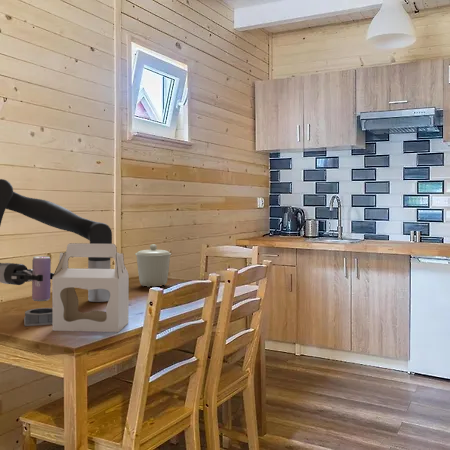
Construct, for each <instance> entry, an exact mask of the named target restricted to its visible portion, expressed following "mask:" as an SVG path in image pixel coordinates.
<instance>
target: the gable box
mask: <svg viewBox="0 0 450 450" xmlns="http://www.w3.org/2000/svg"><path fill="white" fill-rule="evenodd" d="M88 257H110V259H114V268H110V269H88V268H73V267H71V268H69V260H70V258H88ZM58 260H59V261H58V262H59V263H58V265H57V266H56V269H55V271H54V272H53V273H54V275H53V277H52V279H51V280H52V281H51V282H52V283H51V285H52V286H51V287H52V289H51V291H52V293H51V296H52V298H51V299H52V301H51V302H52V307H51V308H52V324H51V325H52V331H53V332H55V331H56V332H84V333H85V332H89V333H90V332H91V333H92V332H95V333H97V332H99V333H119V332H121V330H123V329H124V328H125V327H126V326H127V325H128V324H129V272H128V270H127V268H126V265H125V258H124V253H119V252H118V251H117V245H116V244H115V243H112V244H90V242H89V243H83V242H81V243H80V242H79V243H78V242H77V243H76V242H75V243H74V242H73V243H72V242H71V243H68V244H67V246H66V250H65V251H64V252H60V253H59V259H58ZM76 288H77V289H82V290H87V291H88V290H92V289H106V290H108V291H109V292H110V299H109V301H107V304H106V308H105V311H104V310H91V311H88V312H81V311H79V298H78V295H77V292H76Z"/></svg>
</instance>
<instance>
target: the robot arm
mask: <svg viewBox="0 0 450 450" xmlns="http://www.w3.org/2000/svg"><path fill="white" fill-rule="evenodd" d="M6 210H9V211H13V212H15V213H18V214H20V215H22V216H25V217H28V218H30V219H32V220H35V221H38V222H39V223H42V224H44V225H47V226H50V227H52V228H54V229H55V228H56V229H58V230H61V231H67V232H71V233H73V234H75V235H78V236H80V237H82V238H84V239H86V240H87V241H89V243H90V244H113V233H112V228H111V227H110V225H108V224H107V223H104V222H101V221H100V222H99V221H95V220H90V219H88V218H85V217H82V216H79V215H78V214H76V213H74V212H72V210H69V209H68V208H66V207H64V206H62V205H59V204H57V203H55V202H52V201H50V200H46V199H41V198H35V197H34V198H33V197H28V196H25V195H22V194H20V193H17V192H16V191H14V188H13V185H12V184H11V182H9V180H6V179H5V178H4V179H3V178H0V226H1V225H2V220H3V218H4V214H5V211H6ZM87 258H88V260H87V261H88V262H87V264H88V265H87V267H88V268H87V269H111V258H110V257H87ZM54 273H55V272H51V275H50V280H52V277H53V275H54ZM33 280H37V281H43V275H37V276H33V274H32V268H28V267H27V266H26V265H25V264H23V263H14V262H12V263H11V262H0V283H1V284H7V285H14V286H15V285H16V286H21V285H24V284H25V283H28V282H32V281H33ZM87 292H88V293H87V294H88V296H87V298H88V302H92V303H105V302H108V301H109V299H110V292H109V291H108V290H106V289H92V290H87Z"/></svg>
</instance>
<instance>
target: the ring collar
mask: <svg viewBox="0 0 450 450" xmlns="http://www.w3.org/2000/svg"><path fill="white" fill-rule="evenodd" d="M24 315H25V316H24V318H23V319H24V320H23V322H24V325H23V326H24V327H34V326H35V327H36V326H49V325H53V324H52V307H39V308H31V309H28V310H26V311H24Z"/></svg>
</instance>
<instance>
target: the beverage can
mask: <svg viewBox="0 0 450 450" xmlns="http://www.w3.org/2000/svg"><path fill="white" fill-rule="evenodd" d="M51 261H52V260H51V257H50V256H48V255H47V256H45V255H41V256H40V255H37V256H33V258H32V263H31V265H32V268H31V269H32V274H33V276H37V275H43V281H37V280H33V281H31V282H32V283H31V284H32V285H31V299H32V300H33V301H34V302H46V301H49V300H50V299H51V279H50V275H51V273H52V272H51V265H52V262H51Z"/></svg>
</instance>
